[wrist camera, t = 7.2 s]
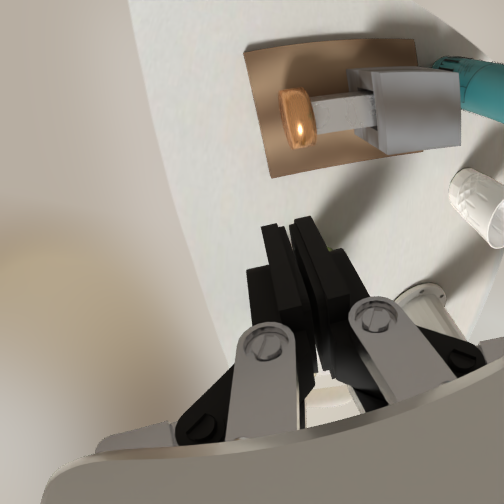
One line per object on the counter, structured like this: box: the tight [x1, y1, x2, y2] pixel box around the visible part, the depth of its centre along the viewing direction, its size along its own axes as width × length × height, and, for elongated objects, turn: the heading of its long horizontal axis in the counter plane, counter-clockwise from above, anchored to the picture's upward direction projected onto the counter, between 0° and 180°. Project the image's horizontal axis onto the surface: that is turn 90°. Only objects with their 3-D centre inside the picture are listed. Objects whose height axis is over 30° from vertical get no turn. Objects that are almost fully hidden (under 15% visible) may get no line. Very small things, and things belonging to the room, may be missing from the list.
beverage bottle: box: [432, 55, 504, 124], centre depth 21 cm, size 6×7×20 cm
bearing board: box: [243, 39, 461, 178], centre depth 27 cm, size 14×19×9 cm
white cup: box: [448, 168, 504, 249], centre depth 34 cm, size 8×8×10 cm
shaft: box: [278, 87, 377, 150], centre depth 26 cm, size 6×16×6 cm, turn 102°
